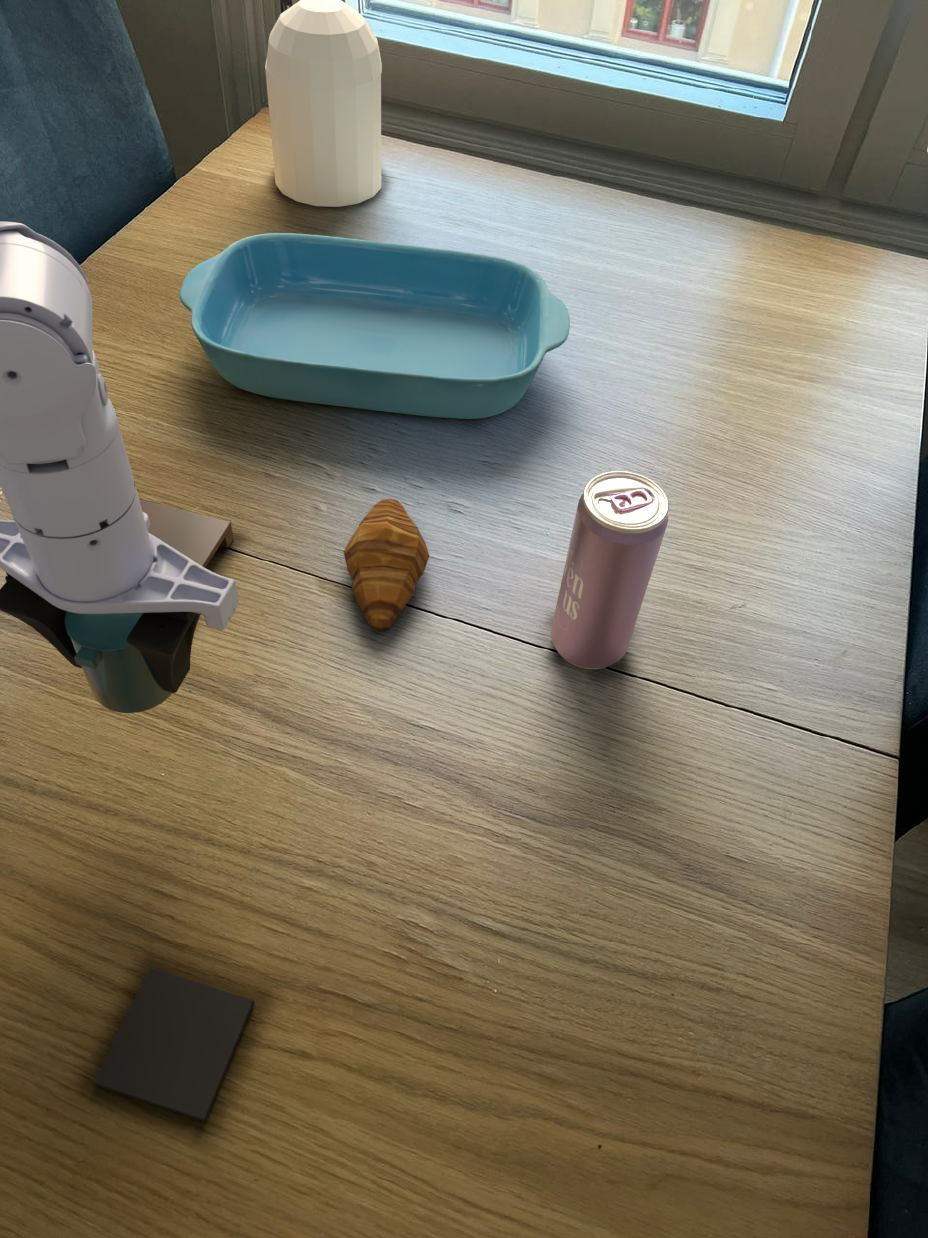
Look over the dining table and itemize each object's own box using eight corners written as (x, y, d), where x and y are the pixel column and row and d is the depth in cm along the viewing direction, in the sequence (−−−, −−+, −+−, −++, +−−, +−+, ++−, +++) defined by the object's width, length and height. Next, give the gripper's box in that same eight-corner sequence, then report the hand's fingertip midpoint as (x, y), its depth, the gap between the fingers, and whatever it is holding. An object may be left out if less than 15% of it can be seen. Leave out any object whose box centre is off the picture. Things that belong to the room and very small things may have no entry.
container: (391, 164, 121) (392, -14, 106) (371, 213, 113) (369, 26, 97) (290, 151, 122) (276, -28, 106) (262, 199, 113) (243, 11, 98)
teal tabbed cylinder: (67, 710, 54) (37, 647, 50) (132, 613, 59) (111, 547, 54) (150, 733, 54) (127, 671, 49) (208, 633, 58) (193, 567, 54)
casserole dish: (561, 317, 101) (571, 255, 95) (559, 451, 86) (570, 387, 81) (222, 283, 101) (212, 219, 95) (163, 411, 86) (148, 345, 81)
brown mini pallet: (74, 612, 71) (67, 594, 69) (144, 516, 78) (139, 498, 76) (172, 638, 70) (167, 621, 68) (234, 538, 77) (230, 521, 75)
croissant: (425, 639, 71) (427, 596, 67) (336, 635, 71) (333, 591, 67) (431, 516, 80) (433, 471, 76) (351, 512, 79) (349, 467, 76)
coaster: (94, 1085, 50) (92, 1083, 50) (151, 970, 54) (150, 967, 54) (205, 1122, 49) (203, 1120, 49) (254, 1002, 53) (253, 999, 53)
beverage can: (640, 661, 71) (689, 519, 59) (570, 682, 69) (606, 540, 58) (604, 605, 74) (644, 460, 63) (537, 623, 73) (565, 478, 61)
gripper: (249, 477, 46) (274, 646, 57) (-14, 414, 48) (57, 589, 58) (185, 576, 42) (225, 740, 52) (-102, 504, 44) (-8, 676, 54)
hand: (133, 667), depth 55 cm, fingers closed on teal tabbed cylinder, 5 cm apart
